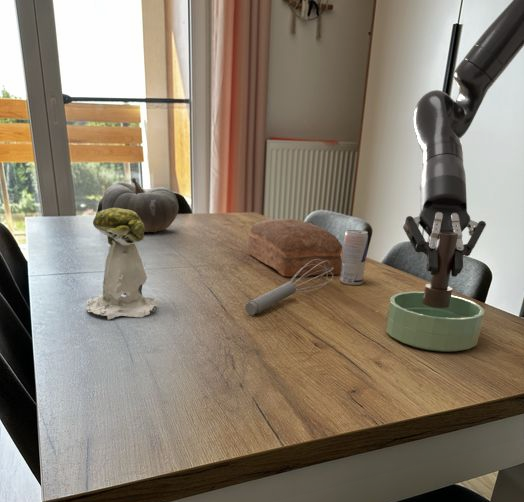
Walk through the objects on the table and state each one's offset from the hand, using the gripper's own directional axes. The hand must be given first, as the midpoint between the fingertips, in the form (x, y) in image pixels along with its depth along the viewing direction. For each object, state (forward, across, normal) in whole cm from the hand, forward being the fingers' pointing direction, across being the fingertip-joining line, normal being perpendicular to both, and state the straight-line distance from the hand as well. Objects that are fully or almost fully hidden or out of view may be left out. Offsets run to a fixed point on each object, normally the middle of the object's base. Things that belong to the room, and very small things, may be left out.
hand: (445, 272), depth 84 cm
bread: (-28, -27, +45) cm, 60 cm away
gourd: (-53, -80, +71) cm, 119 cm away
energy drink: (-17, -12, +34) cm, 40 cm away
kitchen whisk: (-5, -25, +22) cm, 34 cm away
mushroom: (+6, -56, +11) cm, 58 cm away
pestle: (+3, 0, +6) cm, 6 cm away
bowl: (+7, 0, +10) cm, 12 cm away
